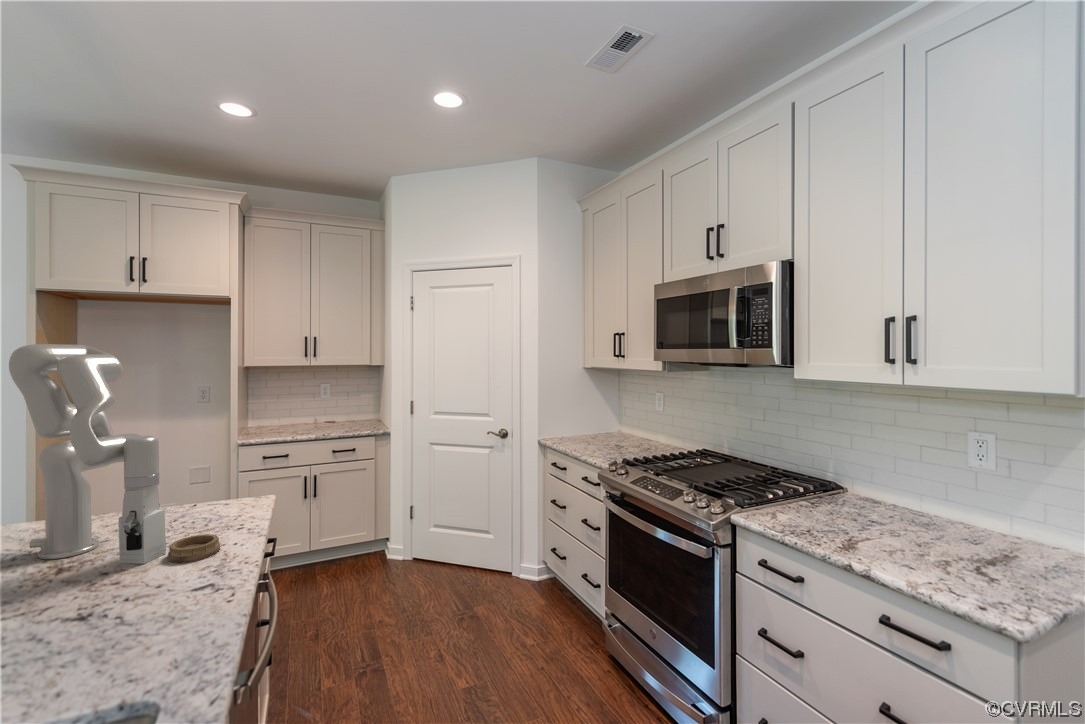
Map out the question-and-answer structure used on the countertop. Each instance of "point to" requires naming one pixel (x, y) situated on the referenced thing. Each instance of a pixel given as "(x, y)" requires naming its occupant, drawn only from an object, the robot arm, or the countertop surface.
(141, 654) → the countertop surface
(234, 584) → the countertop surface
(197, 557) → the coaster tray
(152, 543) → the supplement box
